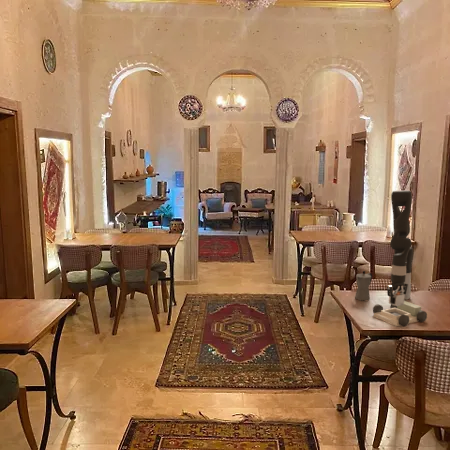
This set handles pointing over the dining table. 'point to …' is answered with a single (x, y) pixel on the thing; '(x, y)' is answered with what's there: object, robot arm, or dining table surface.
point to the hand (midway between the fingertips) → (396, 302)
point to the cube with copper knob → (398, 299)
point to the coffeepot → (363, 286)
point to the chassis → (400, 314)
